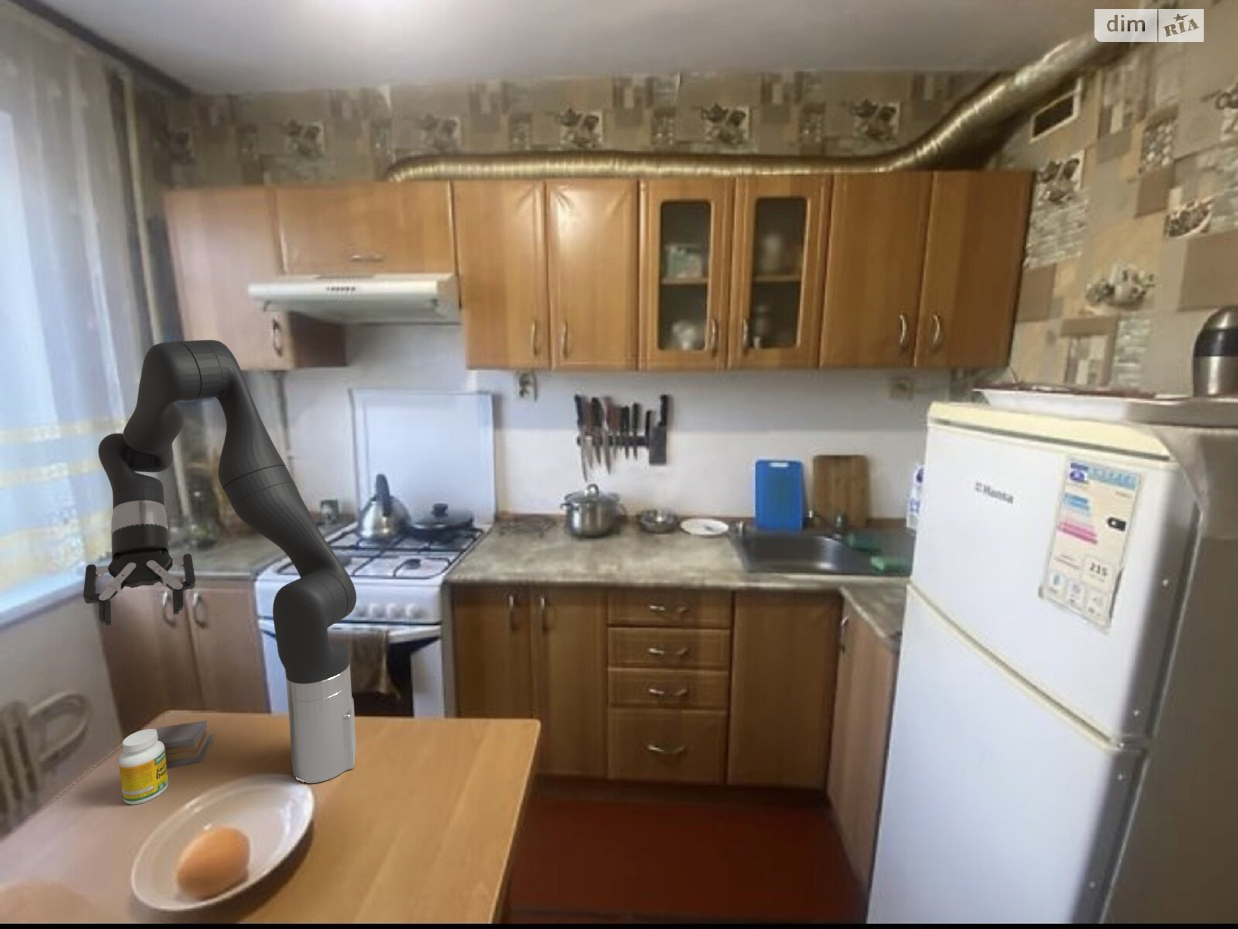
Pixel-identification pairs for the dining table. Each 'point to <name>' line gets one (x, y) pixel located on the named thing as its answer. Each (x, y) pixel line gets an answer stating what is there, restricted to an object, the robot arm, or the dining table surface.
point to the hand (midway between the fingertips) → (143, 618)
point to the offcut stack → (185, 742)
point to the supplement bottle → (143, 767)
